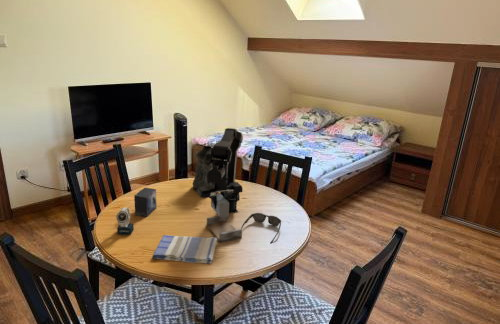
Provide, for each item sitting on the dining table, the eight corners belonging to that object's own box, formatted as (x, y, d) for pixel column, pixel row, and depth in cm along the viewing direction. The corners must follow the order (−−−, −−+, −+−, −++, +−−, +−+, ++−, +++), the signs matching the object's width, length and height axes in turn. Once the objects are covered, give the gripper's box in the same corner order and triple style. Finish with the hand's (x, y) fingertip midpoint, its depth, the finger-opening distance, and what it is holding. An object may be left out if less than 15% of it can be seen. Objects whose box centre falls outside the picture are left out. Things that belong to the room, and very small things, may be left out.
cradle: (226, 221, 162) (227, 214, 161) (241, 237, 149) (242, 229, 148) (206, 225, 158) (206, 217, 156) (220, 242, 145) (220, 234, 143)
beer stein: (212, 181, 210) (213, 141, 202) (229, 192, 195) (231, 150, 187) (187, 186, 200) (187, 144, 192) (203, 198, 185) (204, 154, 178)
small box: (147, 217, 162) (146, 197, 159) (134, 215, 163) (133, 195, 160) (157, 208, 172) (156, 188, 169) (145, 206, 173) (144, 187, 170)
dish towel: (212, 265, 130) (212, 259, 129) (150, 261, 131) (150, 254, 130) (218, 241, 147) (218, 235, 146) (163, 237, 148) (163, 231, 147)
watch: (116, 236, 145) (114, 213, 142) (122, 227, 153) (120, 204, 149) (129, 237, 145) (127, 213, 142) (135, 227, 153) (133, 205, 149)
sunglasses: (283, 226, 161) (284, 217, 159) (273, 248, 146) (273, 238, 144) (250, 219, 166) (250, 210, 164) (237, 239, 152) (237, 230, 150)
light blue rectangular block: (219, 205, 156) (219, 192, 154) (228, 215, 147) (229, 202, 145) (211, 206, 154) (211, 194, 152) (220, 217, 145) (220, 204, 143)
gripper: (233, 165, 156) (232, 197, 161) (193, 170, 148) (193, 203, 153) (243, 174, 147) (242, 207, 151) (201, 179, 138) (201, 214, 143)
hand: (219, 207), depth 150 cm, fingers closed on light blue rectangular block, 4 cm apart
